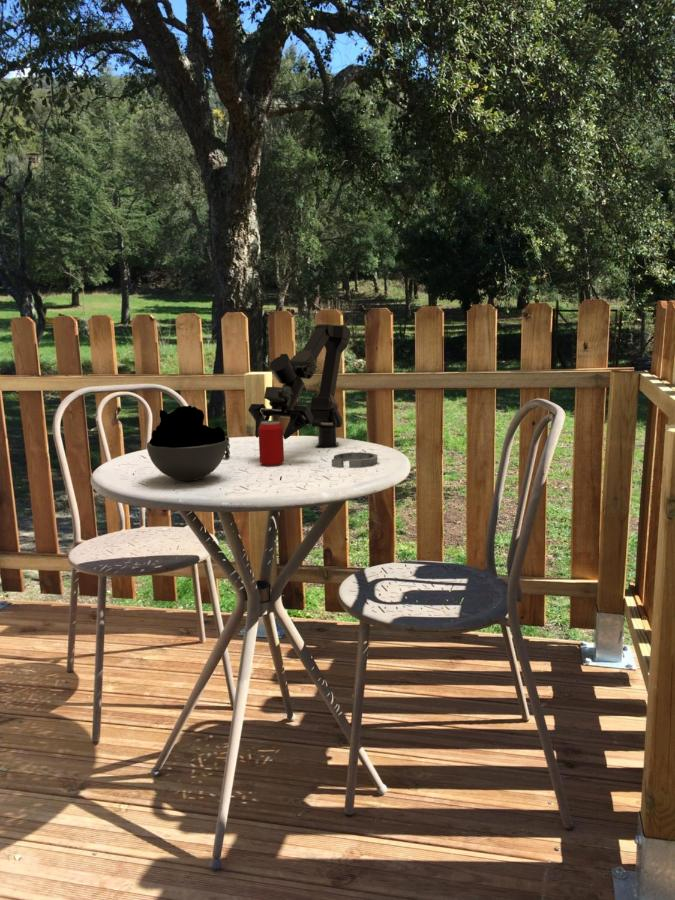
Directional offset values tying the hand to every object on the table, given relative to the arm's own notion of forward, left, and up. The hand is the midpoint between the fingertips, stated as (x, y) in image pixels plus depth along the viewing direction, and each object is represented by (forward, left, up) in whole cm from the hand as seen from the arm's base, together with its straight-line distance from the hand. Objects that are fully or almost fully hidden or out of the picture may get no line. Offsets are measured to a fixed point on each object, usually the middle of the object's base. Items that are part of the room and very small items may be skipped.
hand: (270, 437), depth 210 cm
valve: (-10, -20, -8) cm, 24 cm away
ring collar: (0, +24, -8) cm, 25 cm away
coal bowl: (+20, -18, -8) cm, 28 cm away
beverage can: (0, 0, -8) cm, 8 cm away
